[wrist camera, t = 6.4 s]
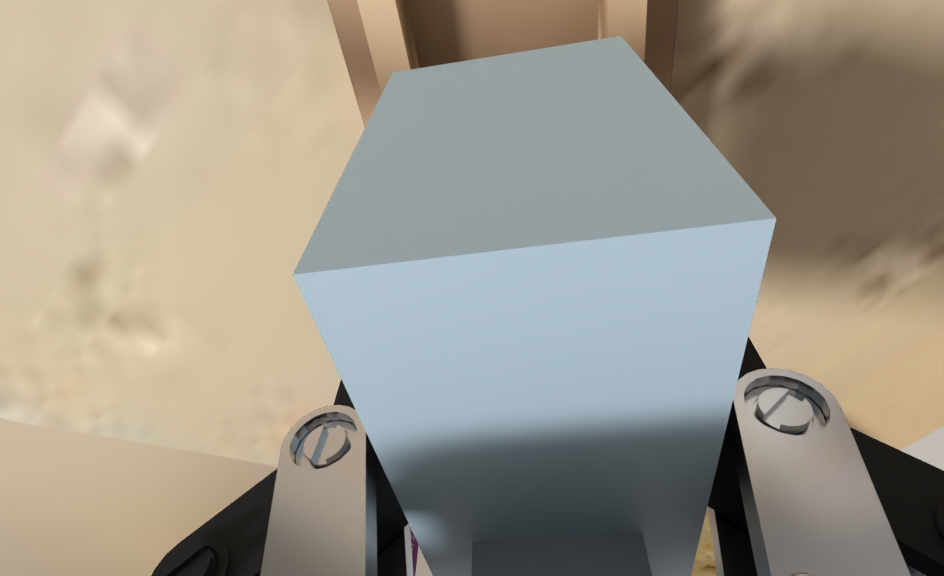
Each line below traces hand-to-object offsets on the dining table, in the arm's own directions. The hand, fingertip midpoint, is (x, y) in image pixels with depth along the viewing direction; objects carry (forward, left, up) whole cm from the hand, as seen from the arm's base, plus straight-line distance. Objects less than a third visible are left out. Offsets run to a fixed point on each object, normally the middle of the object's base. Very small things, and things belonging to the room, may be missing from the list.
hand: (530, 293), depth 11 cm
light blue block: (0, 0, -1) cm, 1 cm away
